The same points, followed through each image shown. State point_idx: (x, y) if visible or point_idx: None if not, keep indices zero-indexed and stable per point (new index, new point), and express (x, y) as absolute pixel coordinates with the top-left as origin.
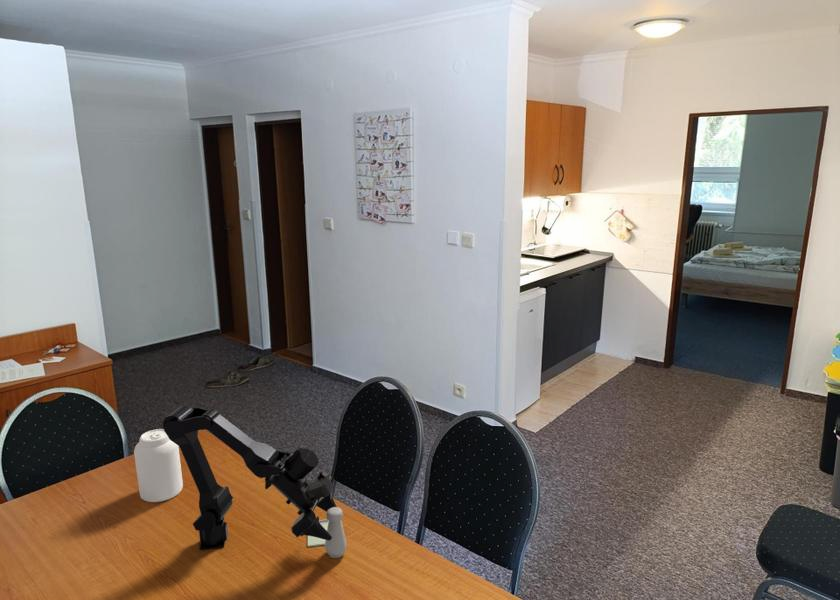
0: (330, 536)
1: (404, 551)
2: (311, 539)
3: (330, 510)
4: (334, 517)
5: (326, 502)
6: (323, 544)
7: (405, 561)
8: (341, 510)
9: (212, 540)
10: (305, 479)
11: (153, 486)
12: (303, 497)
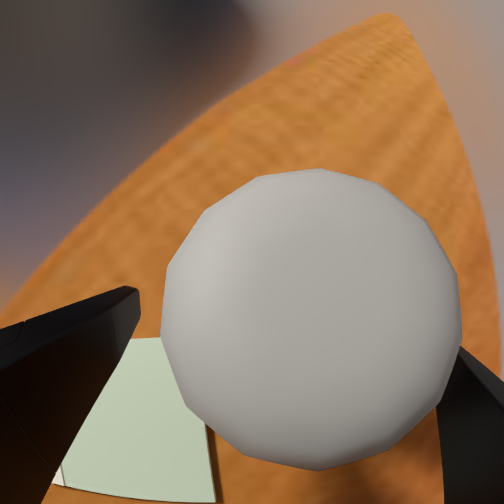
0: (467, 353)
1: (278, 94)
2: (167, 485)
3: (333, 393)
4: (456, 291)
5: (1, 435)
6: (205, 427)
7: (329, 95)
8: (296, 173)
9: None
10: None
11: None
12: None
